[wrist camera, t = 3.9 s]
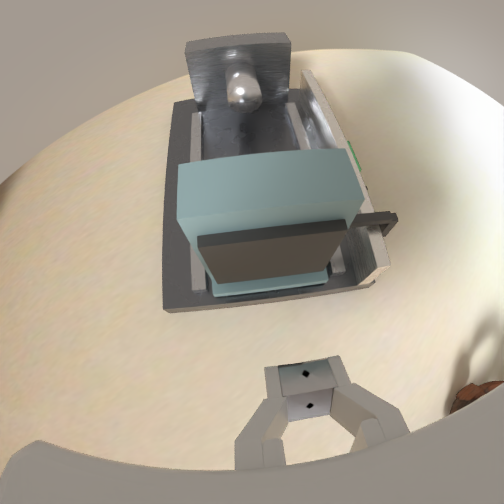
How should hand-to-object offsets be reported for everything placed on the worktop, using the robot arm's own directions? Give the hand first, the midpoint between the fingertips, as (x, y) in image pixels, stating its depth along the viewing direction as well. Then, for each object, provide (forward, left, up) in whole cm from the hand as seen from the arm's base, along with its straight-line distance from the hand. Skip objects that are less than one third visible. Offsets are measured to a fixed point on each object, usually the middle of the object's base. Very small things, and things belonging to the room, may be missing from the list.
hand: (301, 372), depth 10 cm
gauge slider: (-1, +8, -8) cm, 11 cm away
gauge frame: (-6, +16, -9) cm, 19 cm away
